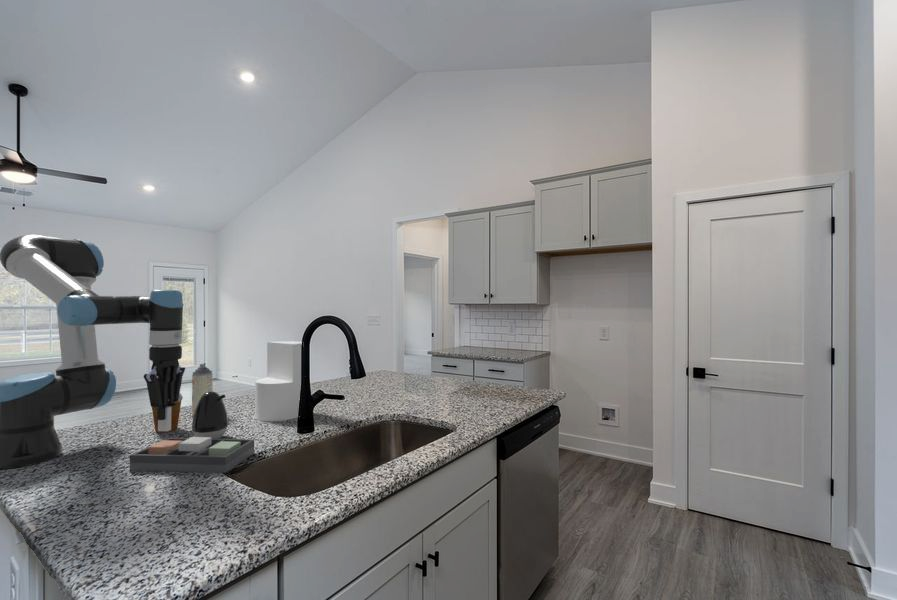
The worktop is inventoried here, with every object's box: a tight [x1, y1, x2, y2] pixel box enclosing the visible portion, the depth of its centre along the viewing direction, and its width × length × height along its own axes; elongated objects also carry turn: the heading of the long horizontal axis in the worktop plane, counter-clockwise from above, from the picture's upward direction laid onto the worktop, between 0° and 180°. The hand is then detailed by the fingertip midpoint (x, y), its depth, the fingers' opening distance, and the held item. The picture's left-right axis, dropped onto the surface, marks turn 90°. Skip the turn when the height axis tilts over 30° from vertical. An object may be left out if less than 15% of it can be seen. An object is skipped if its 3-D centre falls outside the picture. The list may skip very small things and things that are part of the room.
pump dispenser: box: [191, 390, 229, 439], centre depth 136 cm, size 10×10×15 cm
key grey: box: [178, 436, 211, 451], centre depth 116 cm, size 6×6×2 cm
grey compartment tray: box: [129, 437, 255, 474], centre depth 116 cm, size 26×14×4 cm, turn 86°
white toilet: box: [254, 340, 303, 422], centre depth 164 cm, size 17×17×28 cm
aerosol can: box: [191, 363, 213, 418], centre depth 164 cm, size 7×7×20 cm
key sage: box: [209, 441, 241, 456], centre depth 116 cm, size 6×6×2 cm
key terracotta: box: [148, 439, 183, 455], centre depth 117 cm, size 6×6×2 cm
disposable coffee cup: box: [151, 392, 184, 434], centre depth 145 cm, size 10×10×12 cm
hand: (164, 430), depth 117 cm, fingers closed
